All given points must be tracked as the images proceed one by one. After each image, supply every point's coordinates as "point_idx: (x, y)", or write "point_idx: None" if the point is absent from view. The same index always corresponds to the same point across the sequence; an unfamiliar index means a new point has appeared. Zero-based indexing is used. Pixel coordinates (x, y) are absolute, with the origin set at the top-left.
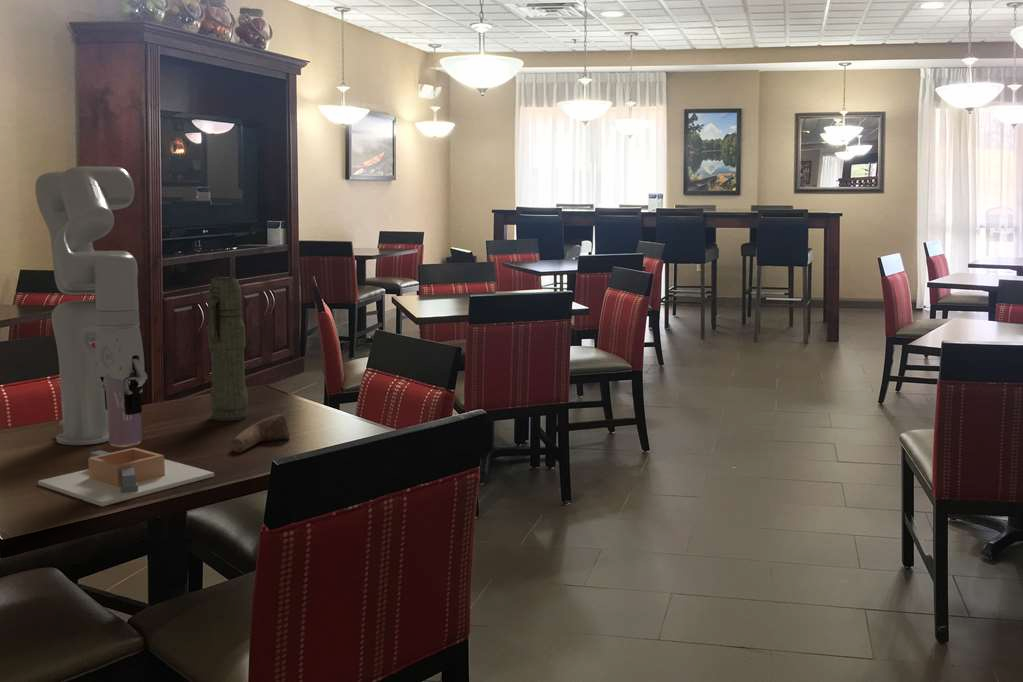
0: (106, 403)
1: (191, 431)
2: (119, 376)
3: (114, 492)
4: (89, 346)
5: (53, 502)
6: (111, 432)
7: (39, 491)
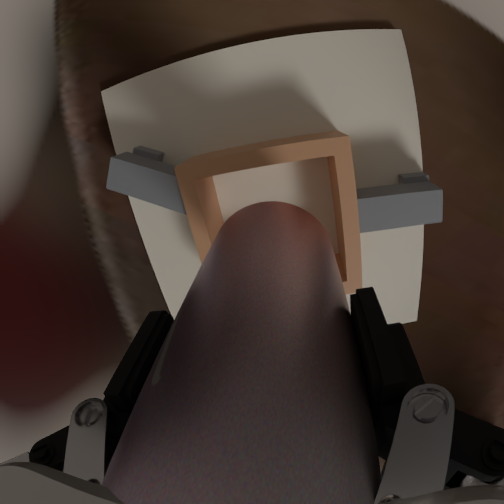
0: (366, 312)
1: (477, 402)
2: (6, 479)
3: (153, 134)
4: None
5: (208, 6)
6: (250, 218)
7: (334, 8)
